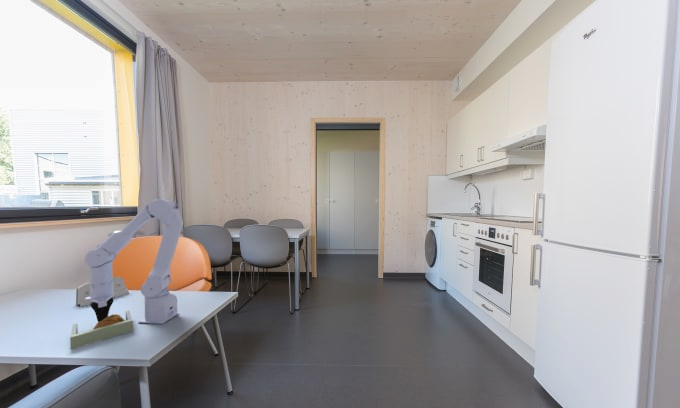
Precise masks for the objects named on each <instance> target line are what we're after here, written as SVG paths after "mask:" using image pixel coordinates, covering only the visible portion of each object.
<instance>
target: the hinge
mask: <svg viewBox="0 0 680 408" xmlns="http://www.w3.org/2000/svg"><path fill="white" fill-rule="evenodd" d="M113 292H114V296H112V297H113V299H115V298H118V296H119V297H122V296H125V295H128V294H129V293H130V292H129V289H128V288H127V285H126V283H125V279H124V278H123V277H121V276H113ZM87 297H90V281H89V282H86V283H84V284H82V285H80V286H78V287H77V288H76V293H75V301H76V302H75V306H80V308H83V307H82V306H84V307H86V305H87V306H89V305H90V304H91V302H93V301H90V300H89V301H85V298H87ZM114 297H115V298H114ZM90 306H91V305H90Z"/></svg>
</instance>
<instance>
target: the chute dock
mask: <svg viewBox="0 0 680 408" xmlns="http://www.w3.org/2000/svg"><path fill="white" fill-rule="evenodd" d="M78 328H79V327H78V323H74V324H72V329H71V335H70V341H69V343H70V350H73V349H76V348H80V347H83V346H87V345H90V344H93V343H96V342H100V341H104V340H107V339H110V338H113V337H117V336H120V335H123V334H126V333H129V332H133V331H134V320H133V317H132V314H131V312H130V310H126V311H125V320H124V321H123V322H119V323H115V324H111V325H108V326H104V327H100V328H97V329H93V328H92V329H90V330H87V331H82V332H79V331H78ZM86 344H87V345H86Z"/></svg>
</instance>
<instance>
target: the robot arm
mask: <svg viewBox="0 0 680 408" xmlns="http://www.w3.org/2000/svg"><path fill="white" fill-rule="evenodd" d="M154 219H158V220H159V221H161V223H162V224H163V225H164V227H165V229H164V231H163V234H162V238H161V241H160V244H159V247H158V251H157V254H156V258H155V260H154V265H153V267H152V269H151V271H150V272H149V274H148V276H147V278H146V280H145V281H144V282H143V284H142V285H141V287H140V292H141V294H142V296H144V318H142V319H140V320H139V321H138V324H139V323H140V324H159V325H160V324H161V325H162V324H165V323H166V322H168V321H169V320H171V319H172V318H174V317H175V316H177V315H179V314H180V312H179V311H178V298H177V296H176V295H175V294H173V293H170V290H169V286H170V285H171V282H172V279H171V273H172V270H171V265H172V262H173V259H174V255H175V252H176V249H177V246H178V243H179V240H180V236H181V233H182V229H183V226H184V221H183V217H182V214H181V211H180V206H179V205H178V204H177V202H175V201H174V200H173V199H170V198H169V199H168V198H165V199H161V198H156V199H152V200H151V201H150V202H149V203H148V204H147V205H144V206H143V208H142V209H141V210H140V211H139V212H138V213H137V214H136V215H135V216H134V217H133V218H132V219H131V221H129V223H127V224H126V225H125V227H124V228H122V230H115V231H114V232H113V231H112V232H110V233H109V234H107V236H108V237H107V238H106V239H105V240H104V241H103V242H102V243H99V244H97V245H96V247H97V248H95V249H92V250H89V251H88V252H87V253H86V254H85V257H84V261H85V263H86V264H87V265H88V266H89V282H90V297H87V298H85V301H89V300H90V301H93V302H91V305H90V307H91V309H92V310H93V312H94V314H95V316H96V320H97V323H98V322H100V321H102V320H103V319H105V318H106V317H107V316H109V313H110V309H111V306H112V305H113V303H114V298H113V297H112V296H114V292H113V277H114V276H113V275H114V274H113V273H114V271H113V270H114V268H113V263H114V261H115V260H116V258H117V255H118V254H119V253H120V252H121V251H122V250H123V249H124V248H125V247H126V246H127V245H128V244H130V242H131V241H132V236H133V235H134V234H135V233H136V232H137V231H139V230H140V229H141V228H142V227H143V226H144V225H145V224H146V223H147V222H149V221H150V220H154Z"/></svg>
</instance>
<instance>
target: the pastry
mask: <svg viewBox="0 0 680 408" xmlns="http://www.w3.org/2000/svg"><path fill="white" fill-rule="evenodd" d="M123 321H125V319H124V318H123V317H122V316H121V315H120V314H111V315H108V316H107V317H106V318H105V319H103V320H102V321H100V322H98V321H97V323H96V325H95V326H93V328H92V330H93V329H97V328H100V327H104V326H108V325H111V324H115V323H119V322H123Z"/></svg>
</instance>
